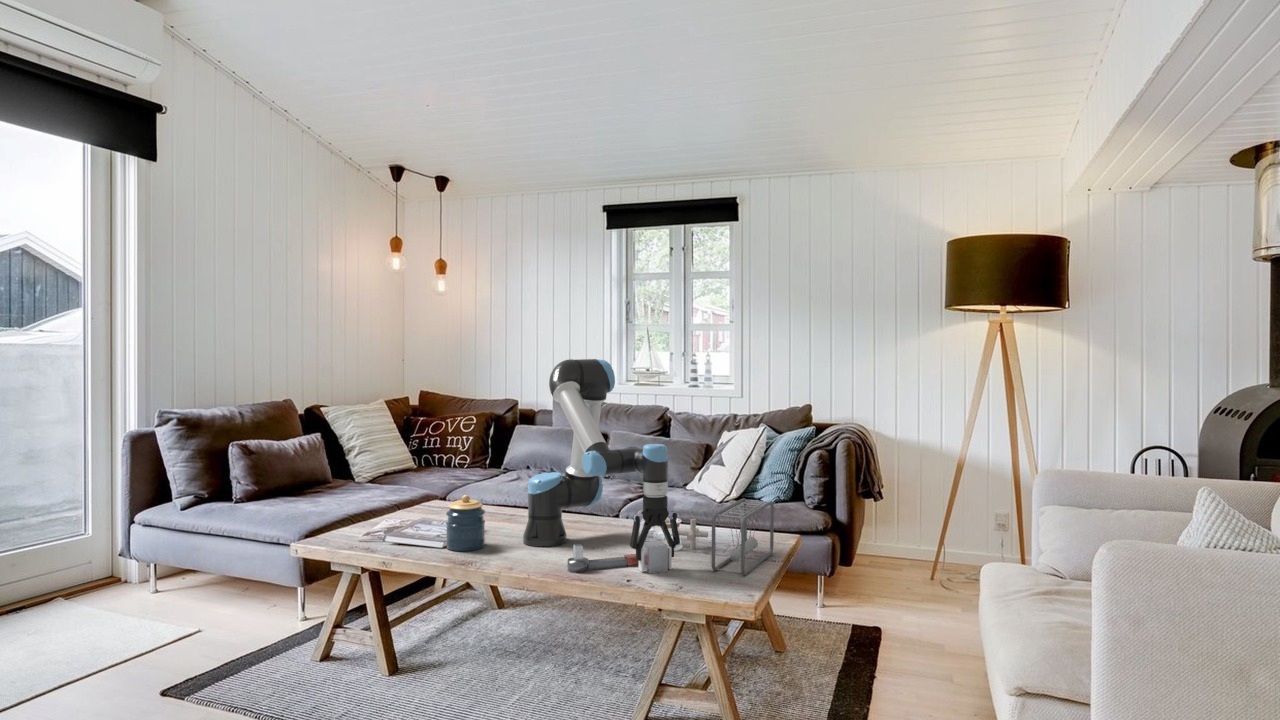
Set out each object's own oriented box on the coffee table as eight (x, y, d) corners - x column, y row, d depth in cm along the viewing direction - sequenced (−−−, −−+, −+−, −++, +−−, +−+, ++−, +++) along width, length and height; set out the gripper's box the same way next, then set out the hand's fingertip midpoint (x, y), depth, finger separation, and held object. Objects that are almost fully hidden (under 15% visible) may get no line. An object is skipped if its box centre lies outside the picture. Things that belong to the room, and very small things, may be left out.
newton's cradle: (743, 549, 249) (744, 496, 249) (773, 553, 244) (774, 499, 244) (710, 572, 222) (711, 514, 222) (743, 577, 217) (744, 517, 217)
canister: (487, 541, 257) (488, 491, 256) (481, 551, 244) (482, 498, 243) (450, 542, 256) (450, 491, 256) (442, 552, 243) (442, 499, 243)
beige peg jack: (682, 543, 255) (682, 515, 255) (710, 546, 252) (710, 517, 252) (674, 551, 245) (675, 521, 245) (704, 554, 242) (704, 523, 242)
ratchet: (565, 567, 226) (565, 543, 226) (646, 559, 235) (646, 536, 235) (570, 573, 220) (570, 548, 220) (653, 565, 229) (653, 541, 229)
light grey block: (642, 568, 226) (642, 542, 226) (660, 566, 228) (660, 540, 228) (649, 573, 220) (649, 547, 220) (667, 571, 223) (667, 545, 222)
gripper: (626, 499, 217) (626, 576, 217) (691, 495, 224) (691, 569, 224) (618, 495, 224) (618, 569, 224) (682, 490, 231) (681, 562, 231)
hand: (655, 569), depth 224 cm, fingers open, 8 cm apart
